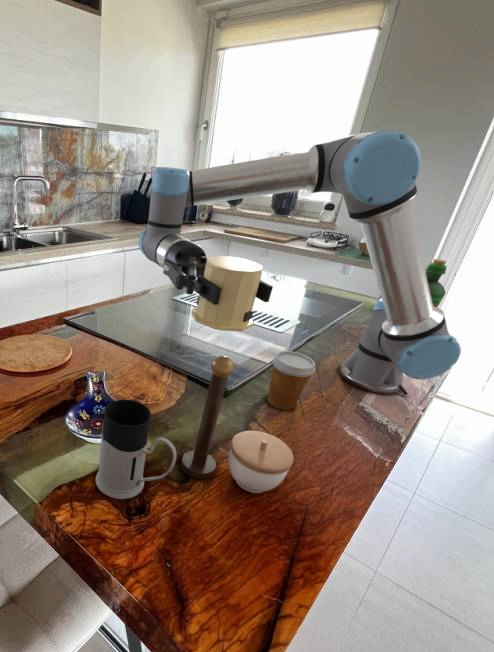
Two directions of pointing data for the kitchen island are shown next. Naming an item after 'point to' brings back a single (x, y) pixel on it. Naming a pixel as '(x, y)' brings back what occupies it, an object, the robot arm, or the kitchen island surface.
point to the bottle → (436, 280)
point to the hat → (229, 293)
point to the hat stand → (208, 422)
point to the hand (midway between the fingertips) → (244, 295)
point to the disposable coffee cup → (289, 378)
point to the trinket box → (259, 461)
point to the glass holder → (126, 449)
